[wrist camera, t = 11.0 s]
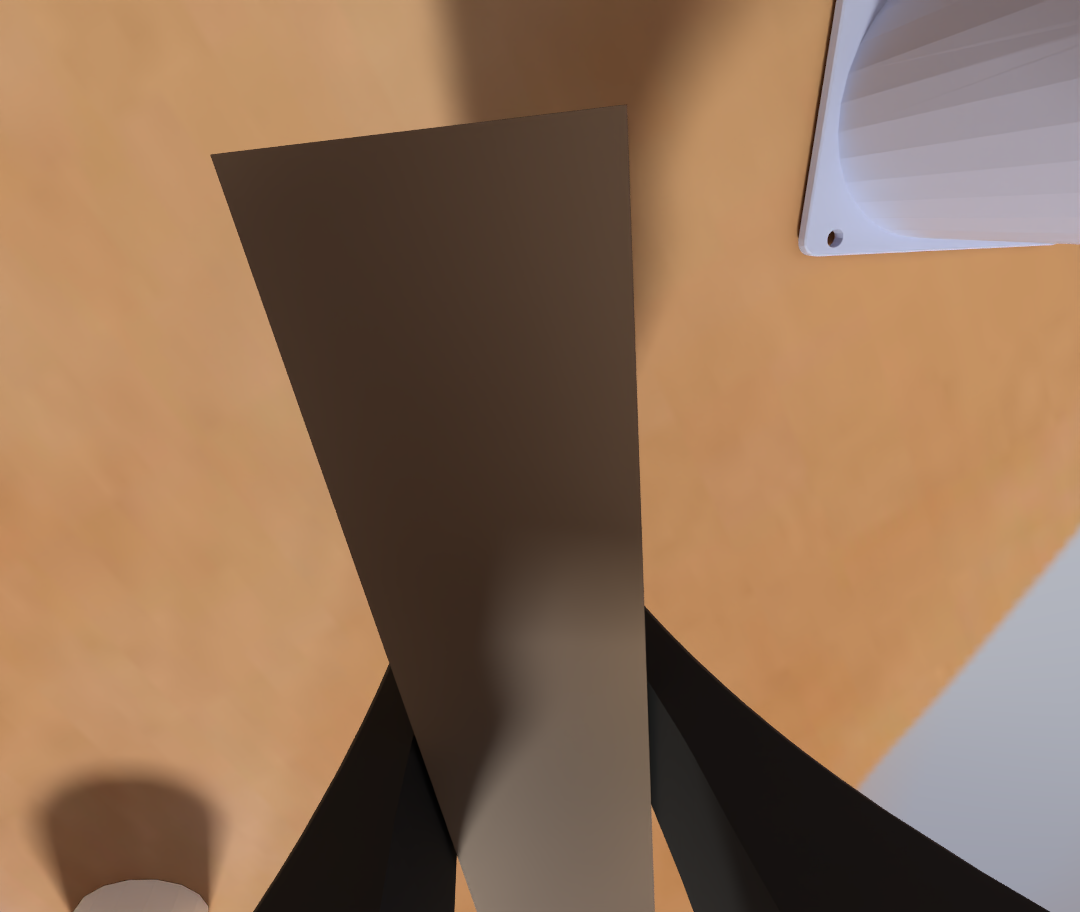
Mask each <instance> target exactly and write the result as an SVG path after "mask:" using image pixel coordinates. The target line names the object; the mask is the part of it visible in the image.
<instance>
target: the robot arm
mask: <svg viewBox="0 0 1080 912" xmlns="http://www.w3.org/2000/svg"><path fill="white" fill-rule="evenodd" d="M832 231H833V232H834V233H835V238H834V241H833V243H832V244H831V245H830V246H829V245H828V243H827V238H828V236H829V234H830V233H831V232H832ZM798 241H799V248H800V250H801V252H802V253H803V254H805V255H809V256H834V255H855V254H876V253H896V252H917V251H938V250H958V249H979V248H1000V247H1020V246H1041V245H1053V244H1057V243H1059V244H1080V0H836V6H835V12H834V19H833V25H832V31H831V37H830V44H829V50H828V56H827V63H826V69H825V75H824V82H823V88H822V94H821V101H820V107H819V113H818V119H817V126H816V132H815V138H814V145H813V151H812V157H811V164H810V170H809V176H808V182H807V189H806V195H805V201H804V208H803V214H802V220H801V227H800V233H799V239H798ZM644 614H645V643H646V672H647V701H648V731H649V760H650V789H651V805H652V807H653V810H654V812H655V815H656V817H657V820H658V822H659V825H660V827H661V829H662V832H663V834H664V837H665V839H666V842H667V844H668V847H669V849H670V852H671V854H672V856H673V859H674V861H675V864H676V866H677V869H678V871H679V874H680V876H681V879H682V881H683V884H684V887H685V889H686V892H687V895H688V898H689V900H690V903H691V906H692V908H693V911H694V912H1050V911H1048V910H1046V909H1044V908H1043V907H1041V906H1039V905H1037V904H1036V903H1034V902H1032V901H1031V900H1029V899H1027V898H1026V897H1024V896H1022V895H1021V894H1019V893H1017V892H1015V891H1014V890H1012V889H1010V888H1009V887H1007V886H1005V885H1004V884H1002V883H1000V882H998V881H997V880H995V879H993V878H992V877H990V876H988V875H987V874H985V873H983V872H982V871H980V870H978V869H977V868H975V867H973V866H972V865H971V864H969V863H967V862H966V861H964V860H963V859H961V858H960V857H958V856H956V855H955V854H953V853H952V852H950V851H949V850H947V849H945V848H944V847H942V846H941V845H939V844H938V843H936V842H934V841H933V840H931V839H930V838H928V837H926V836H925V835H923V834H922V833H920V832H919V831H917V830H915V829H914V828H912V827H911V826H909V825H908V824H906V823H905V822H903V821H901V820H900V819H898V818H897V817H895V816H893V815H892V814H890V813H889V812H887V811H886V810H884V809H883V808H882V807H880V806H879V805H877V804H876V803H874V802H873V801H872V800H870V799H869V798H867V797H866V796H864V795H863V794H861V793H860V792H859V791H857V790H856V789H854V788H853V787H851V786H850V785H849V784H847V783H846V782H844V781H843V780H841V779H840V778H839V777H837V776H836V775H835V774H833V773H832V772H831V771H829V770H828V769H827V768H825V767H824V766H822V765H821V764H820V763H818V762H817V761H816V760H814V759H813V758H812V757H810V756H809V755H808V754H806V753H805V752H804V751H802V750H801V749H800V748H799V747H797V746H796V745H795V744H793V743H792V742H791V741H790V740H788V739H787V738H786V737H785V736H783V735H782V734H781V733H780V732H778V731H777V730H776V729H775V728H773V727H772V726H771V725H770V724H769V723H767V722H766V721H765V720H764V719H763V718H761V717H760V716H759V715H758V714H757V713H755V712H754V711H753V710H752V709H751V708H749V707H748V706H747V705H746V704H745V703H744V702H742V701H741V700H740V699H739V698H738V697H737V696H736V695H734V694H733V693H732V692H731V691H730V690H729V689H728V688H727V687H725V686H724V685H723V684H722V683H721V682H720V681H719V680H718V679H717V678H716V677H715V676H714V675H712V674H711V673H710V672H709V671H708V670H707V669H706V668H705V667H704V666H703V665H702V664H701V663H700V662H698V661H697V660H696V659H695V658H694V657H693V656H692V655H691V654H690V653H689V652H688V651H687V650H686V649H685V648H684V647H683V646H682V645H681V644H680V643H679V642H678V641H677V640H676V639H675V638H674V637H673V636H672V635H671V634H670V633H669V632H668V631H667V630H666V629H665V628H664V626H663V625H662V624H661V623H660V622H659V621H658V620H657V619H656V618H655V617H654V616H653V615H652V614H651V612H650V611H649V610H648V609H647V608H646V607H645V606H644ZM456 860H457V853H456V851H455V848H454V845H453V842H452V839H451V836H450V834H449V831H448V828H447V825H446V822H445V819H444V817H443V814H442V811H441V808H440V805H439V802H438V800H437V797H436V794H435V791H434V788H433V785H432V783H431V780H430V777H429V774H428V771H427V768H426V765H425V763H424V760H423V757H422V754H421V751H420V748H419V746H418V743H417V740H416V737H415V734H414V731H413V729H412V726H411V723H410V720H409V717H408V714H407V712H406V709H405V706H404V703H403V700H402V697H401V695H400V692H399V689H398V686H397V683H396V680H395V677H394V675H393V672H392V669H391V666H390V663H389V665H388V668H387V670H386V672H385V675H384V677H383V679H382V681H381V684H380V686H379V688H378V690H377V693H376V695H375V697H374V699H373V701H372V703H371V705H370V708H369V710H368V712H367V714H366V716H365V718H364V720H363V722H362V724H361V726H360V728H359V730H358V732H357V734H356V736H355V738H354V740H353V742H352V744H351V746H350V748H349V750H348V752H347V754H346V756H345V758H344V760H343V762H342V764H341V766H340V767H339V769H338V771H337V773H336V775H335V777H334V779H333V780H332V782H331V784H330V786H329V787H328V789H327V791H326V793H325V794H324V796H323V798H322V800H321V802H320V803H319V805H318V807H317V809H316V810H315V812H314V814H313V816H312V817H311V819H310V821H309V823H308V825H307V826H306V828H305V830H304V832H303V833H302V835H301V837H300V838H299V840H298V842H297V843H296V845H295V847H294V848H293V850H292V852H291V853H290V855H289V856H288V858H287V860H286V861H285V863H284V865H283V866H282V868H281V869H280V871H279V873H278V874H277V876H276V877H275V879H274V881H273V882H272V884H271V885H270V887H269V888H268V890H267V891H266V893H265V894H264V896H263V897H262V899H261V901H260V902H259V904H258V905H257V907H256V908H255V910H254V911H253V912H454V908H455V884H456Z"/></svg>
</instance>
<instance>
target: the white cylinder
mask: <svg viewBox="0 0 1080 912" xmlns="http://www.w3.org/2000/svg"><path fill="white" fill-rule="evenodd" d="M73 912H208V906H207V904H206V903H205V902H204V900H203V899H202V897H201V896H200V895H199V894H198V893H196V892H194V891H192V890H190V889H188V888H186V887H184V886H183V885H180V884H175V883H170V882H165V881H161V880H127V881H123V882H119V883H114V884H110V885H106V886H103V887H101V888H99V889H97V890H95V891H94V892H92V893H90V894H88V895H86V896H84V897H83V899H82V900H81V902H80V903H79V904H78V906H77V907H76V908H75V910H74V911H73Z"/></svg>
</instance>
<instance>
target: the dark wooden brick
mask: <svg viewBox="0 0 1080 912" xmlns="http://www.w3.org/2000/svg"><path fill="white" fill-rule="evenodd" d="M211 158H212V161H213V164H214V166H215V169H216V172H217V175H218V178H219V181H220V184H221V186H222V189H223V192H224V195H225V198H226V201H227V203H228V206H229V209H230V212H231V215H232V218H233V220H234V223H235V226H236V229H237V232H238V235H239V237H240V240H241V243H242V246H243V249H244V252H245V254H246V257H247V260H248V263H249V266H250V269H251V272H252V274H253V277H254V280H255V283H256V286H257V289H258V291H259V294H260V297H261V300H262V303H263V306H264V308H265V311H266V314H267V317H268V320H269V323H270V325H271V328H272V331H273V334H274V337H275V340H276V342H277V345H278V348H279V351H280V354H281V357H282V360H283V362H284V365H285V368H286V371H287V374H288V377H289V379H290V382H291V385H292V388H293V391H294V394H295V396H296V399H297V402H298V405H299V408H300V411H301V413H302V416H303V419H304V422H305V425H306V428H307V431H308V433H309V436H310V439H311V442H312V445H313V448H314V450H315V453H316V456H317V459H318V462H319V465H320V467H321V470H322V473H323V476H324V479H325V482H326V484H327V487H328V490H329V493H330V496H331V499H332V501H333V504H334V507H335V510H336V513H337V516H338V519H339V521H340V524H341V527H342V530H343V533H344V536H345V538H346V541H347V544H348V547H349V550H350V553H351V555H352V558H353V561H354V564H355V567H356V570H357V572H358V575H359V578H360V581H361V584H362V587H363V589H364V592H365V595H366V598H367V601H368V604H369V607H370V609H371V612H372V615H373V618H374V621H375V624H376V626H377V629H378V632H379V635H380V638H381V641H382V643H383V646H384V649H385V652H386V655H387V658H388V660H389V663H390V666H391V669H392V672H393V675H394V677H395V680H396V683H397V686H398V689H399V692H400V695H401V697H402V700H403V703H404V706H405V709H406V712H407V714H408V717H409V720H410V723H411V726H412V729H413V731H414V734H415V737H416V740H417V743H418V746H419V748H420V751H421V754H422V757H423V760H424V763H425V765H426V768H427V771H428V774H429V777H430V780H431V783H432V785H433V788H434V791H435V794H436V797H437V800H438V802H439V805H440V808H441V811H442V814H443V817H444V819H445V822H446V825H447V828H448V831H449V834H450V836H451V839H452V842H453V845H454V848H455V851H456V853H457V856H458V859H459V862H460V865H461V868H462V871H463V873H464V876H465V879H466V882H467V885H468V888H469V890H470V893H471V896H472V899H473V902H474V905H475V907H476V910H477V912H655V905H654V876H653V847H652V818H651V789H650V760H649V731H648V701H647V672H646V643H645V614H644V585H643V556H642V527H641V497H640V468H639V439H638V410H637V381H636V352H635V323H634V293H633V264H632V235H631V206H630V177H629V148H628V119H627V105H619V106H610V107H602V108H594V109H586V110H577V111H569V112H561V113H552V114H544V115H536V116H527V117H519V118H511V119H502V120H494V121H486V122H477V123H469V124H461V125H453V126H444V127H436V128H428V129H419V130H411V131H403V132H394V133H386V134H378V135H369V136H361V137H353V138H344V139H336V140H328V141H320V142H311V143H303V144H295V145H286V146H278V147H270V148H261V149H253V150H245V151H236V152H228V153H220V154H212V155H211Z"/></svg>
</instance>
